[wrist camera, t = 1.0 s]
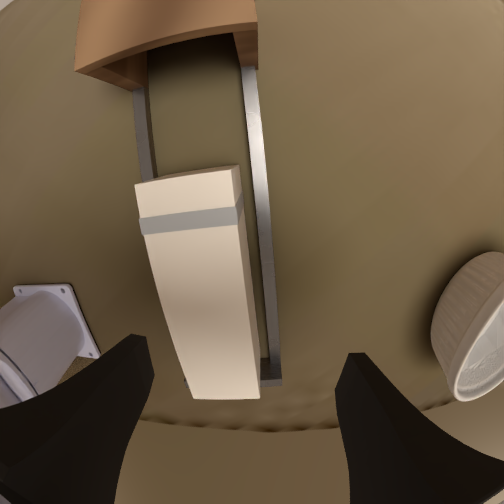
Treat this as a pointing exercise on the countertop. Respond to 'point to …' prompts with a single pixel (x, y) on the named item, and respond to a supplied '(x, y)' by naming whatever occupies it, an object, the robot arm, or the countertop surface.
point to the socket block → (155, 33)
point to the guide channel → (145, 145)
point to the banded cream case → (204, 277)
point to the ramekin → (472, 327)
